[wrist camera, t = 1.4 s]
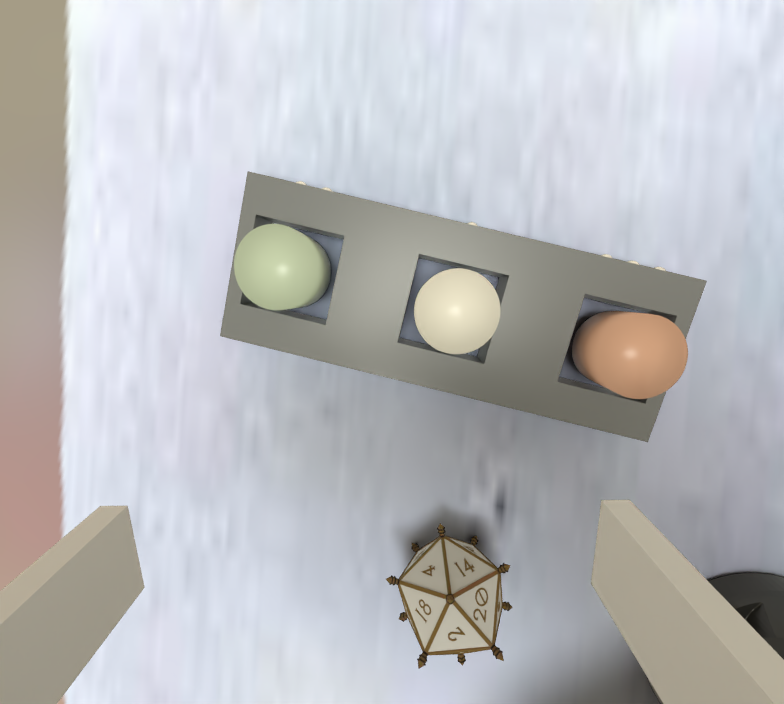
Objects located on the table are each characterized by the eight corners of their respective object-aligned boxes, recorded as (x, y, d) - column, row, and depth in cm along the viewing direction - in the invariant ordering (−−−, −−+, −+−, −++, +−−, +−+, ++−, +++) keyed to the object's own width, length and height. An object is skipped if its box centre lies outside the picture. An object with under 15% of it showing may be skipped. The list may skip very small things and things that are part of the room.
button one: (497, 281, 26) (511, 279, 22) (477, 353, 27) (487, 363, 23) (424, 264, 26) (425, 259, 22) (406, 335, 27) (405, 342, 23)
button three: (659, 320, 26) (700, 325, 22) (634, 391, 27) (670, 408, 23) (585, 302, 26) (613, 304, 22) (562, 374, 27) (586, 387, 23)
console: (677, 275, 27) (709, 273, 24) (623, 426, 29) (647, 442, 26) (266, 177, 28) (248, 164, 25) (239, 331, 30) (220, 335, 27)
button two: (337, 243, 26) (325, 235, 22) (322, 315, 27) (307, 319, 23) (266, 225, 26) (241, 214, 23) (253, 298, 27) (227, 299, 23)
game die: (431, 511, 35) (422, 494, 26) (523, 565, 32) (547, 567, 23) (380, 613, 32) (352, 632, 23) (477, 683, 29) (485, 735, 20)
